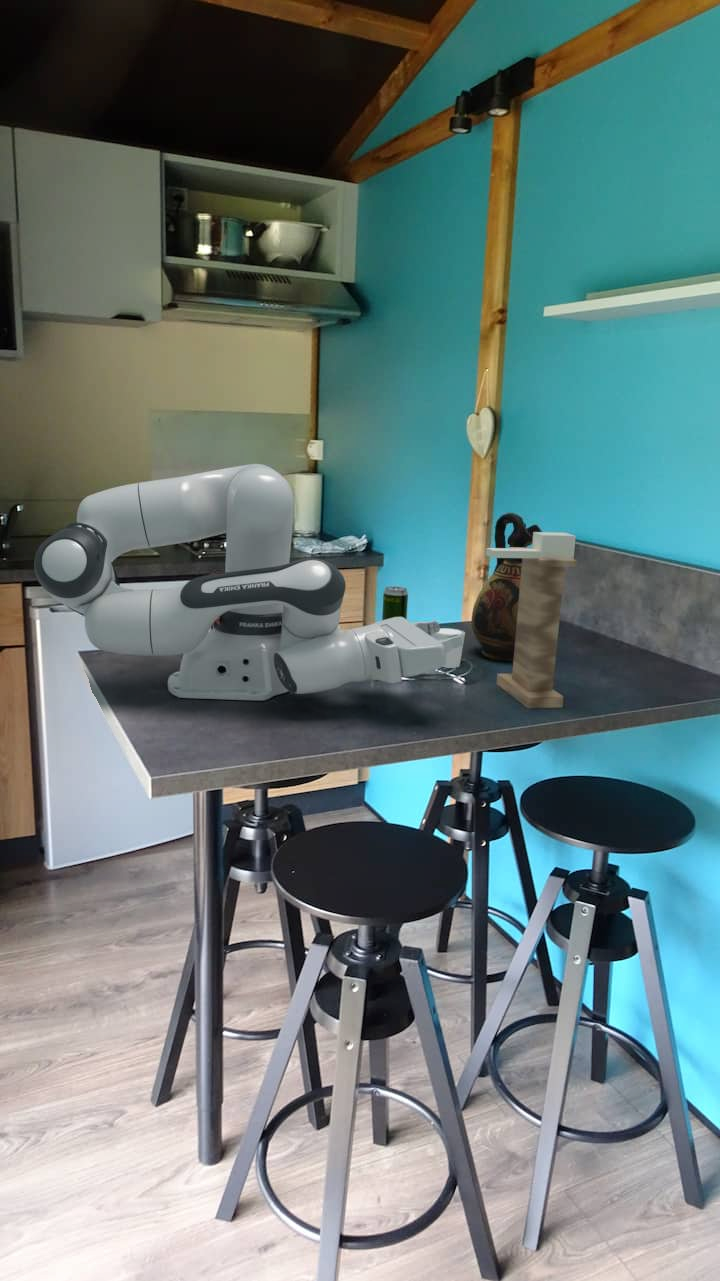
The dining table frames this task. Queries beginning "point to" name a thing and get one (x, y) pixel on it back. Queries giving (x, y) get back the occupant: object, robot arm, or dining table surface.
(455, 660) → the white cylinder
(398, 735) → the dining table surface
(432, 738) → the dining table surface
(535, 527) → the ceramic jug
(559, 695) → the wooden post with base
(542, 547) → the white block with handle
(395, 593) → the beer can
